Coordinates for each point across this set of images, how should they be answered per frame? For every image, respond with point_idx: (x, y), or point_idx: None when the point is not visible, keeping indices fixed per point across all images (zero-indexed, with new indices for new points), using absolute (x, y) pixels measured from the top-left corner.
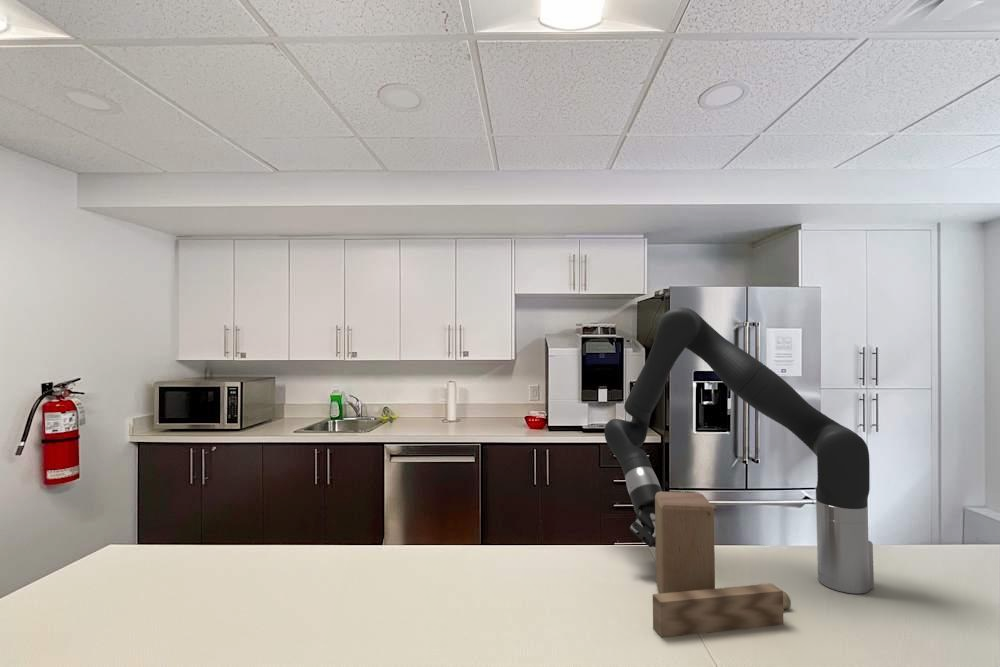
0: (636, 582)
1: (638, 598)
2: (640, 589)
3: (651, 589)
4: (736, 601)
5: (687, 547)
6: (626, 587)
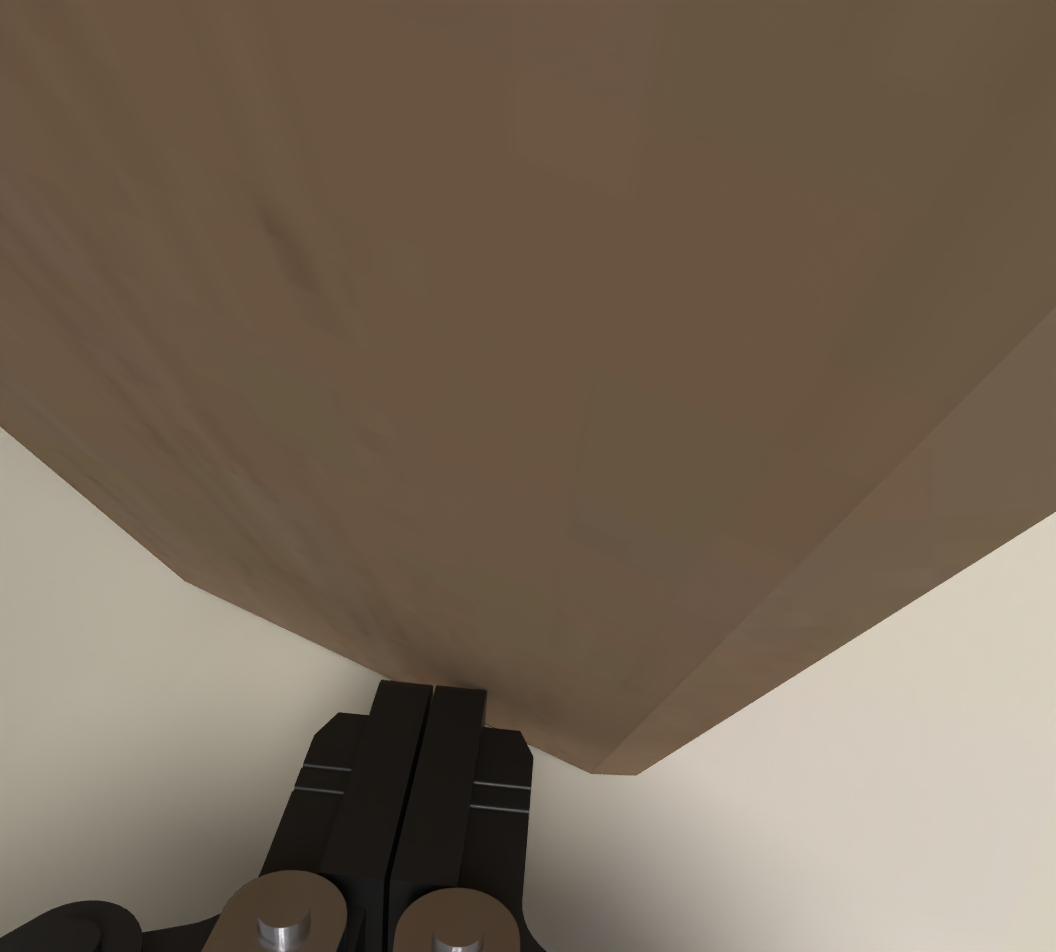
0: (833, 934)
1: None
2: (863, 744)
3: (740, 710)
4: None
5: None
6: (1006, 838)
